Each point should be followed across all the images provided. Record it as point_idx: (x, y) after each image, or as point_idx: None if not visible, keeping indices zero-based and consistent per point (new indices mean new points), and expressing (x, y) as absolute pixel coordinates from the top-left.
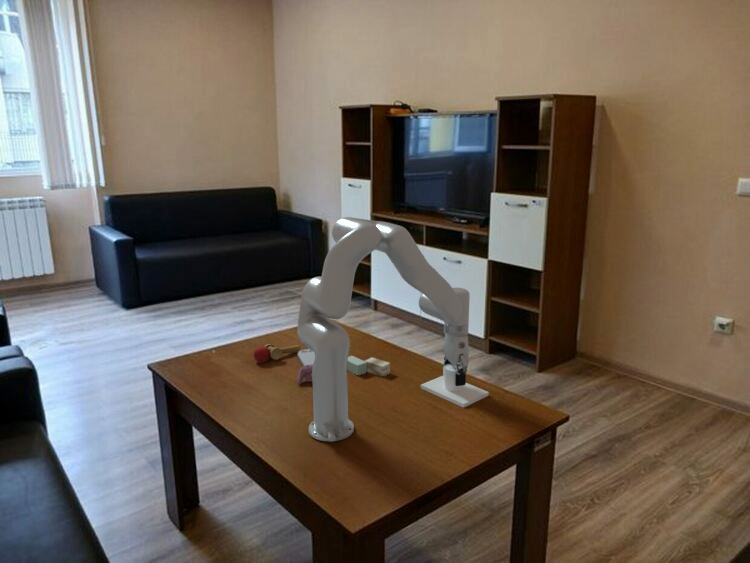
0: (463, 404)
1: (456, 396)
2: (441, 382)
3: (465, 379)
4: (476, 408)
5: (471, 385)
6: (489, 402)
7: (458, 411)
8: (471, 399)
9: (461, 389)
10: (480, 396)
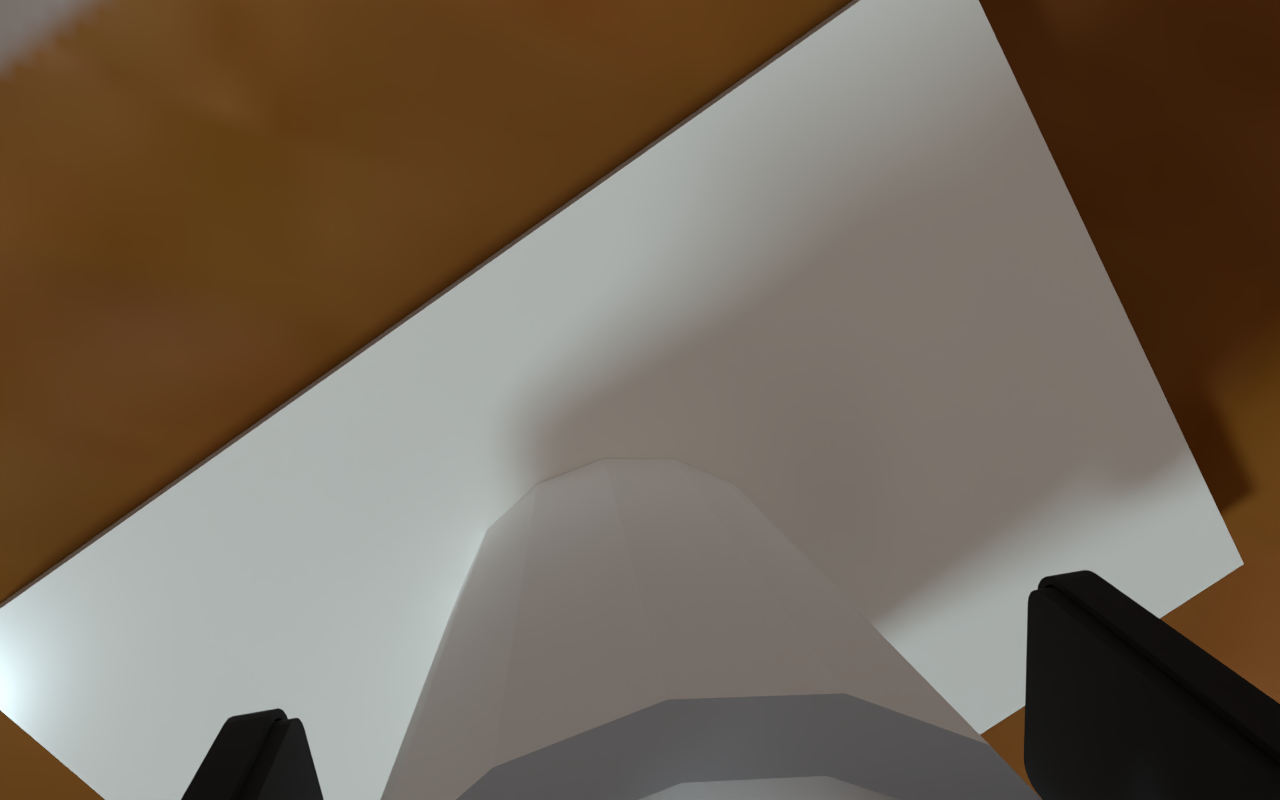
0: (1230, 560)
1: (970, 623)
2: (369, 781)
3: (1187, 645)
4: (1273, 346)
5: (563, 232)
6: (1162, 45)
7: (1260, 623)
8: (1143, 399)
9: (739, 490)
10: (1058, 186)
